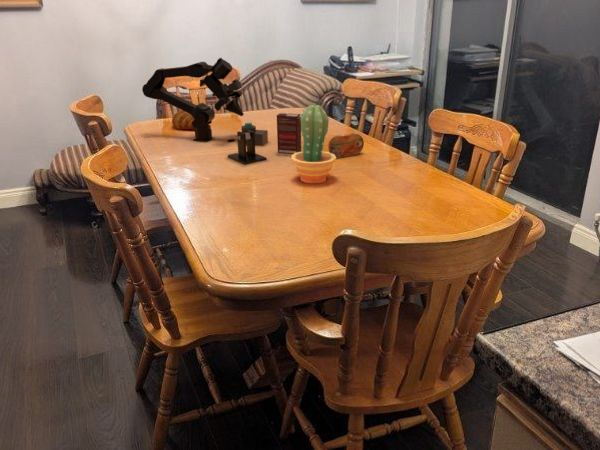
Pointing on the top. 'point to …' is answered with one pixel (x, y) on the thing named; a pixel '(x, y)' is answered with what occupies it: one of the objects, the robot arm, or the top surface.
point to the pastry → (182, 120)
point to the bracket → (249, 155)
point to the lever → (237, 139)
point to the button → (248, 125)
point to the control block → (257, 135)
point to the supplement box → (288, 133)
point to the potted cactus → (313, 146)
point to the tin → (346, 145)
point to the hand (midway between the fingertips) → (242, 115)
